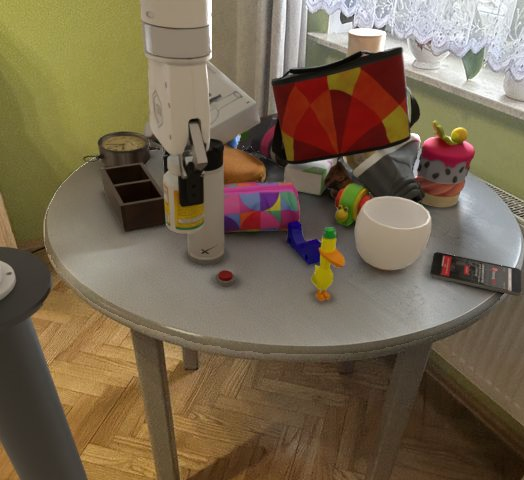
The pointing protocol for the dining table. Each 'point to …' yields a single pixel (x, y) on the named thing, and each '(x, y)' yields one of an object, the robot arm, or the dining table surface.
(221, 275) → the push button
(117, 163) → the alarm clock
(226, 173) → the pancake
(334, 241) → the toy figure
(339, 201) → the green red striped toy
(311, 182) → the ink box
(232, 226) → the pencil case
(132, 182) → the rack
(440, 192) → the cake
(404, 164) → the sneaker
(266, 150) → the shoe
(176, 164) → the supplement bottle
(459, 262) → the smartphone
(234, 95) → the skincare box
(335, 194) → the artifact
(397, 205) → the cup
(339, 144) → the bag
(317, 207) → the dining table surface
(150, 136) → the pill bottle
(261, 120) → the dark grey pouch
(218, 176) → the travel mug
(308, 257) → the cable holder
